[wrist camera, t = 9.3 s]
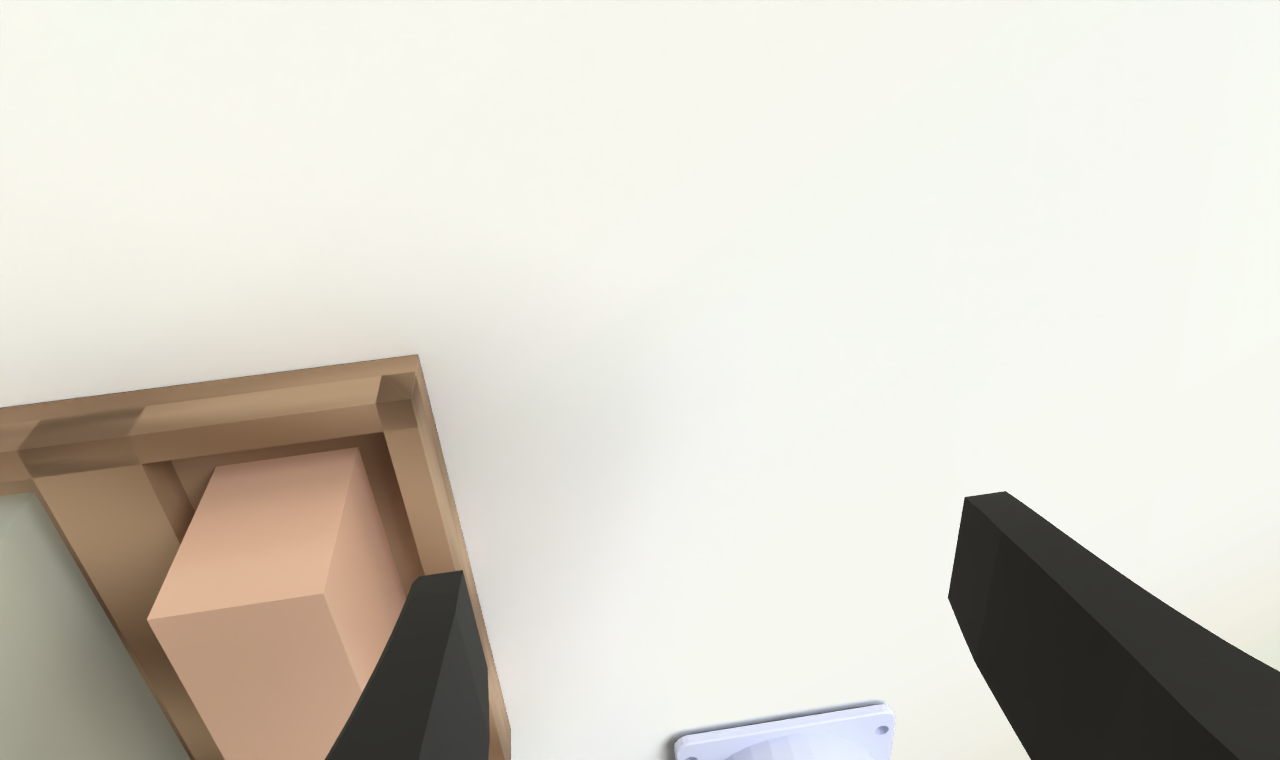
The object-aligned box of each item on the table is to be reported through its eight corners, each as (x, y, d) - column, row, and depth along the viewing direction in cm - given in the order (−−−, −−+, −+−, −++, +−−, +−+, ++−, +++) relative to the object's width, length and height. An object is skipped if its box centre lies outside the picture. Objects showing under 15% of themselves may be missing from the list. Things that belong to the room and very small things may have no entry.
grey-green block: (191, 761, 27) (135, 929, 23) (76, 779, 27) (-3, 953, 23) (34, 491, 21) (-80, 653, 17) (-116, 511, 21) (-269, 680, 17)
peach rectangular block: (445, 721, 28) (434, 878, 24) (334, 738, 28) (304, 901, 24) (358, 447, 22) (323, 593, 18) (215, 466, 22) (146, 619, 18)
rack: (510, 730, 30) (511, 783, 28) (55, 801, 29) (27, 862, 27) (418, 354, 22) (410, 398, 20) (-221, 436, 21) (-285, 490, 19)
